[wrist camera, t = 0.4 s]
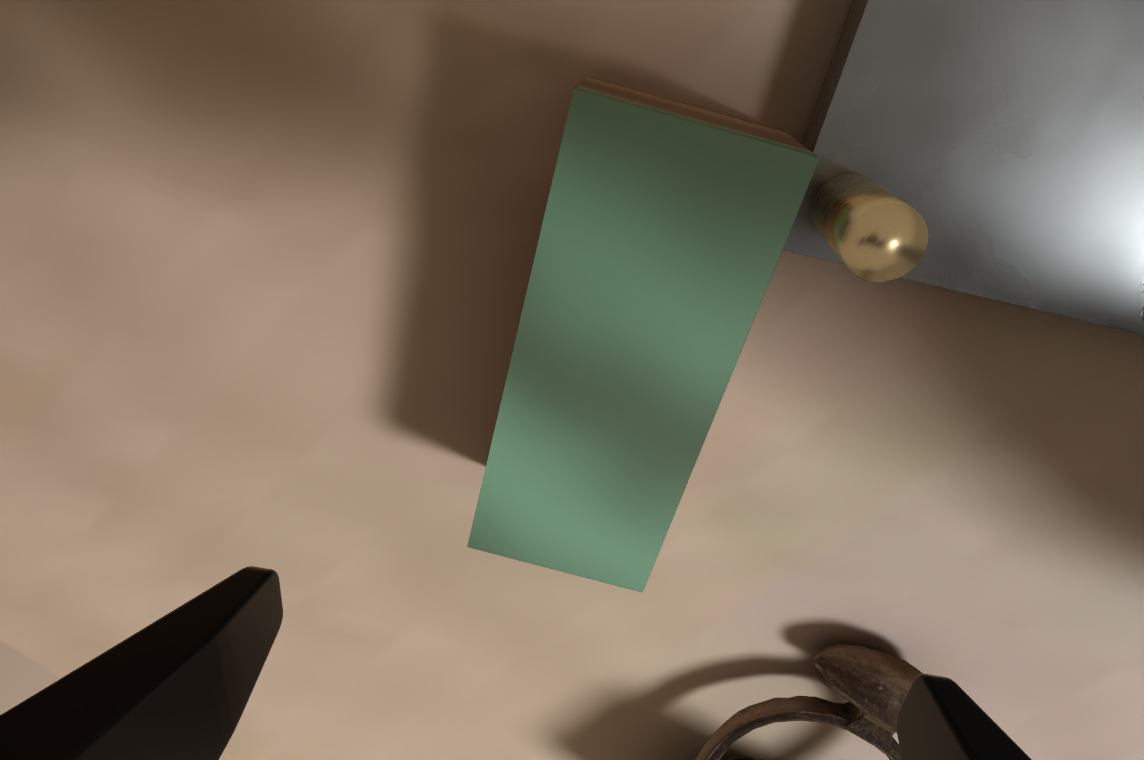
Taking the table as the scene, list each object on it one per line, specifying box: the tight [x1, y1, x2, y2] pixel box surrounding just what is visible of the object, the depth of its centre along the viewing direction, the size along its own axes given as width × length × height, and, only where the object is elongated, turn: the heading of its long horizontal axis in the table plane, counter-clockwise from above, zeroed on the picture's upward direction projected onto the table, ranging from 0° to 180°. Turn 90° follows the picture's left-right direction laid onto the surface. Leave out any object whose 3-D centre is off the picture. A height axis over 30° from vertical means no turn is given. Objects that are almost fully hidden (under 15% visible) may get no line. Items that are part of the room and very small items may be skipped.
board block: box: [467, 77, 820, 593], centre depth 18 cm, size 12×5×4 cm, turn 166°
